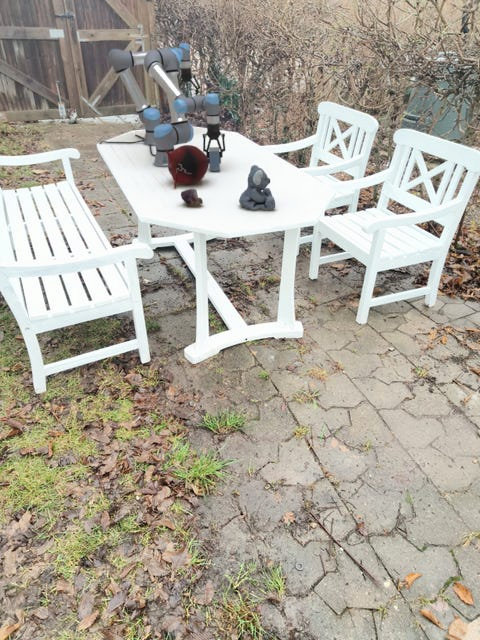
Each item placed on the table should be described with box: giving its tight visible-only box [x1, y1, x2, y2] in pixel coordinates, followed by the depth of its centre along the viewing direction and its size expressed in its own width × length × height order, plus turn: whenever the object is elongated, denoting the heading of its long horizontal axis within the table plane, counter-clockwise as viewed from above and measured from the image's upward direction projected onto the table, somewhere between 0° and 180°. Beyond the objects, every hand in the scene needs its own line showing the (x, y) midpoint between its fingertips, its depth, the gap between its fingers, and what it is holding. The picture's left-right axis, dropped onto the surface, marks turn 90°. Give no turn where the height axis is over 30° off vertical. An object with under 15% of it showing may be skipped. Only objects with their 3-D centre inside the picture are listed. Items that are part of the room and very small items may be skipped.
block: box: [208, 146, 221, 172], centre depth 277 cm, size 9×6×12 cm
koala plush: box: [238, 164, 276, 211], centre depth 224 cm, size 17×18×20 cm
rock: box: [180, 188, 204, 207], centre depth 229 cm, size 12×9×10 cm
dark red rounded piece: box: [165, 144, 210, 189], centre depth 257 cm, size 21×24×25 cm
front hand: (214, 162), depth 279 cm, fingers closed on block, 6 cm apart
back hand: (187, 99), depth 346 cm, fingers open, 13 cm apart
